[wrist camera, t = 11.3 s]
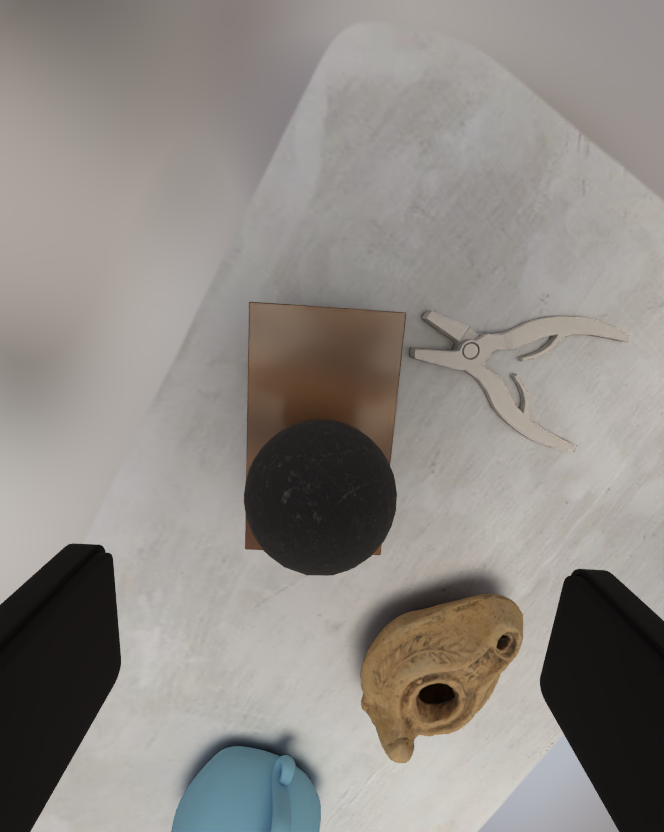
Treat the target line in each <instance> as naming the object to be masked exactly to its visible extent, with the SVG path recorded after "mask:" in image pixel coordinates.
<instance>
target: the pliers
mask: <svg viewBox="0 0 664 832" xmlns="http://www.w3.org/2000/svg"><path fill="white" fill-rule="evenodd" d="M422 319H423V320H425V321H426V322H427V323H429V324H430V325H432V326H433V327H435V328H436V329H438V330H439V331H440V332H442V333H443V334H445V335H446V336H448V337H449V338H450V339H452V340H453V341H454V343H455V345H454V347H453V350H437V349H417V348H410V357H413V358H415V359H419V360H423V361H426V362H430V363H434V364H438V365H442V366H445V367H449V368H453V369H457V370H464V371H465V372H467V373H468V374H470V375H471V376H473V377H474V378H475V379H476V380H477V381H478V383H479V384H480V385H481V387H482V388H483V389H484V391H485V394H486V396H487V398H488V401H489V403H490V405H491V406H492V408H493V409H494V410H495V412H496V413H497V414H498V415H499V416H500V417H501V418H502V419H503V420H504V421H505V422H506V423H507V424H508V425H510V426H511V427H512V428H514V429H515V430H516V431H518V432H520V433H521V434H523V435H524V436H526V437H528V438H530V439H532V440H534V441H536V442H538V443H540V444H543V445H546V446H549V447H552V448H557V449H561V450H568V451H575V449H576V447H577V446H576V445H574V444H572V443H570V442H568V441H565V440H563V439H561V438H559V437H557V436H555V435H553V434H551V433H549V432H547V431H546V430H544V429H543V428H541V427H540V426H538V425H537V424H536V423H534V422H533V421H532V420H531V416H530V399H529V395H528V391H527V389H526V387H525V385H524V384H523V382H522V381H521V379H520V378H519V377H518V375H517V374H513V373H512V374H511V375H510V376H511V378H512V379H513V381H514V382H515V383H516V385H517V387H518V389H519V392H520V398H521V403H520V408H518V407H517V406H516V405H515V403H514V401H513V399H512V397H511V396H510V393H509V391H508V389H507V387H506V385H505V383H504V381H503V379H502V378H501V377H499V376H498V375H497V374H495V373H494V372H492V371H491V370H489V369H488V368H486V367H485V366H484V364H485V363H486V361H487V360H488V359H489V357H490V356H491V355H492V354H493V352H494V351H495V350H496V349H503V350H514V349H517V348H519V347H522V346H524V345H526V344H529V343H531V342H533V341H536V340H538V339H541V338H543V337H546V336H551V338H550V339H549V341H548V342H547V343H546V344H545V345H544V346H543V347H541V348H540V349H539V350H537V351H535V352H533V353H530V354H528V355H524V356H520V357H518V360H519V361H526V360H530V359H534V358H537V357H539V356H542V355H544V354H546V353H547V352H549V351H550V350H552V349H553V348H555V347H556V346H557V345H558V344H559V343H560V342H561V341H562V340H563V339H564V338H565V337H567V336H568V335H570V334H585V335H592V336H598V337H603V338H609V339H613V340H617V341H622V342H628V340H629V338H630V335H629V334H627V333H625V332H624V331H622V330H620V329H618V328H616V327H614V326H612V325H610V324H607V323H604V322H601V321H598V320H593V319H589V318H583V317H546V318H538V319H534V320H530V321H526V322H524V323H522V324H520V325H518V326H516V327H514V328H512V329H510V330H507V331H503V332H499V333H495V334H485V333H484V334H482V335H481V336H480V335H479V334H478V333H476V332H475V331H473V330H472V329H471V328H470V326H467V325H465V324H463V323H460V322H458V321H455V320H453V319H450V318H448V317H446V316H443V315H441V314H438V313H436V312H434V311H426V312H425V314H424V315H423V317H422Z"/></svg>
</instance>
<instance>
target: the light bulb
mask: <svg viewBox="0 0 664 832" xmlns="http://www.w3.org/2000/svg"><path fill="white" fill-rule="evenodd" d="M396 497H397V493H396V486H395V479H394V475H393V472H392V470H391V467H390V465H389V462H388V460H387V458H386V457H385V455H384V454H383V452H382V451H381V449H380V448H379V447H378V446H377V445H376V444H375V443H374V442H373V441H372V440H371V439H370V438H369V437H368V436H367V435H365V434H364V433H362V432H361V431H360V430H358V429H357V428H355V427H352V426H350V425H348V424H345V423H343V422H339V421H333V420H320V419H317V420H308V421H304V422H300V423H297V424H293V425H291V426H289V427H287V428H285V429H283V430H281V431H280V432H279V433H277V434H276V435H275V436H274V437H272V438H271V439H270V440H269V441H268V442H267V443H266V444H265V445H264V446H263V447H262V448H261V450H260V451H259V453H258V454H257V455H256V457H255V458H254V460H253V462H252V464H251V466H250V468H249V472H248V475H247V479H246V485H245V493H244V505H245V511H246V517H247V521H248V524H249V526H250V529H251V532H252V534H253V536H254V537H255V539H256V540H257V542H258V543H259V545H260V546H261V548H262V549H263V550H264V551H265V552H266V553H267V554H268V555H269V556H270V557H272V558H273V559H274V560H276V561H277V562H278V563H280V564H281V565H282V566H284V567H286V568H289V569H291V570H294V571H297V572H300V573H302V574H305V575H335V574H338V573H341V572H344V571H348V570H350V569H352V568H354V567H356V566H357V565H359V564H360V563H362V562H363V561H365V560H366V559H368V558H369V557H371V556H372V555H373V553H374V552H375V551H376V550H377V549H378V548H379V546H380V545H381V544H382V543H383V541H384V540H385V538H386V536H387V534H388V532H389V530H390V528H391V526H392V522H393V519H394V515H395V511H396Z"/></svg>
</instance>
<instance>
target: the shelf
mask: <svg viewBox="0 0 664 832" xmlns="http://www.w3.org/2000/svg"><path fill="white" fill-rule="evenodd" d="M405 319H406V313H404V312H390V311H375V310H361V309H346V308H332V307H317V306H303V305H289V304H274V303H260V302H249V347H248V409H247V470H246V479H247V475H248V472H249V468H250V466H251V464H252V462H253V460H254V458H255V457H256V455H257V454H258V453H259V451H260V450H261V448H262V447H263V446H264V445H265V444H266V443H267V442H268V441H269V440H270V439H271V438H272V437H274V436H275V435H276V434H277V433H279V432H280V431H281V430H283V429H285V428H287V427H289V426H291V425H293V424H297V423H300V422H304V421H308V420H317V419H320V420H333V421H339V422H343V423H345V424H348V425H350V426H352V427H355V428H357V429H358V430H360V431H361V432H362V433H364V434H365V435H367V436H368V437H369V438H370V439H371V440H372V441H373V442H374V443H375V444H376V445H377V446H378V447H379V448H380V449H381V451H382V452H383V454H384V455H385V457H386V458H387V460H388V462H389V465H390V460H391V451H392V441H393V432H394V423H395V413H396V404H397V394H398V385H399V376H400V366H401V357H402V347H403V338H404V329H405ZM381 545H382V544H381ZM381 545H380V546H379V548H378V549H377V550H376V551H375V552H374V553H373V555H380V554H381ZM245 549H252V550H263V549H262V548H261V546H260V545H259V543H258V542H257V540H256V539H255V537H254V536H253V534H252V532H251V529H250V526H249V524H248V521H247V517H246V532H245Z"/></svg>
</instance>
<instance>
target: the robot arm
mask: <svg viewBox="0 0 664 832" xmlns="http://www.w3.org/2000/svg"><path fill="white" fill-rule="evenodd" d="M120 666H121V654H120V641H119V629H118V616H117V604H116V592H115V579H114V567H113V558H112V555H111V554H110V553H105V549H104V548H103V546H101V545H91V544H69V545H67V546H66V547H65V548H63V549H62V550H61V551H60V552H59V553H58V554H57V555H55V556H54V557H53V558H52V559H51V560H50V561H49V562H48V563H47V564H45V565H44V566H43V567H42V568H41V569H40V570H39V571H38V572H37V573H35V574H34V575H33V576H32V577H31V578H30V579H29V580H28V581H26V582H25V583H24V584H23V585H22V586H21V587H20V588H19V589H18V590H16V592H14V593H13V594H12V595H11V596H10V597H9V598H7V599H6V600H5V601H4V602H3V603H2V604H1V605H0V832H30V831H31V829H32V828H33V826H34V824H35V822H36V821H37V819H38V817H39V815H40V814H41V812H42V810H43V808H44V807H45V805H46V803H47V801H48V800H49V798H50V796H51V794H52V793H53V791H54V789H55V787H56V786H57V784H58V782H59V780H60V778H61V777H62V775H63V773H64V771H65V770H66V768H67V766H68V764H69V763H70V761H71V759H72V757H73V756H74V754H75V752H76V750H77V749H78V747H79V745H80V743H81V742H82V740H83V738H84V736H85V735H86V733H87V731H88V729H89V728H90V726H91V724H92V722H93V721H94V719H95V717H96V715H97V714H98V712H99V710H100V708H101V707H102V705H103V703H104V701H105V700H106V698H107V696H108V694H109V693H110V691H111V689H112V687H113V686H114V684H115V682H116V680H117V677H118V674H119V671H120ZM540 687H541V692H542V695H543V697H544V699H545V701H546V703H547V705H548V707H549V708H550V710H551V712H552V714H553V716H554V717H555V719H556V721H557V723H558V724H559V726H560V728H561V730H562V731H563V733H564V735H565V737H566V738H567V740H568V742H569V744H570V746H571V747H572V749H573V751H574V753H575V754H576V756H577V758H578V760H579V761H580V763H581V765H582V767H583V768H584V770H585V772H586V774H587V776H588V777H589V779H590V781H591V782H592V784H593V786H594V788H595V790H596V791H597V793H598V795H599V797H600V798H601V800H602V802H603V804H604V806H605V807H606V809H607V811H608V813H609V814H610V816H611V818H612V820H613V821H614V823H615V825H616V827H617V829H618V830H619V832H664V621H663V620H662V619H661V618H660V617H659V616H658V615H657V614H655V613H654V612H653V611H652V610H651V609H650V608H649V607H648V606H647V605H646V604H645V603H643V602H642V601H641V600H640V599H639V598H638V597H637V596H636V595H635V594H634V593H632V592H631V591H630V590H629V589H628V588H627V587H626V586H625V585H624V584H623V583H621V582H620V581H619V580H618V579H617V578H616V577H615V576H614V575H613V574H611V573H610V572H608V571H604V570H588V569H577V570H575V571H574V572H573V573H572V574H571V576H568V577H567V578H566V579H565V581H564V584H563V588H562V592H561V596H560V600H559V604H558V608H557V612H556V616H555V620H554V624H553V628H552V632H551V636H550V640H549V644H548V648H547V652H546V656H545V660H544V665H543V669H542V673H541V677H540Z"/></svg>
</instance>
